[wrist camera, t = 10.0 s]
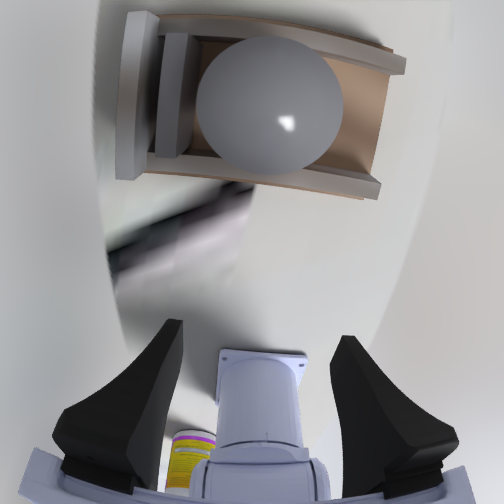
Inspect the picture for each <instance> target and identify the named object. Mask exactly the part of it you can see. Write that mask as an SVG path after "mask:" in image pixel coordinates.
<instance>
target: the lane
mask: <svg viewBox="0 0 504 504" xmlns="http://www.w3.org/2000/svg"><path fill="white" fill-rule="evenodd" d="M166 33H189V34H190V35H192V36H193V37H194V38H195V39H196V40H197V41H199V42H200V43H201V44H202V45H203V49H202V57H201V64H200V72H199V80H198V88H199V84H200V82H201V79H202V77H203V75H204V73H205V71H206V70H207V68H208V66H209V65H210V64H211V63H212V61H213V60H214V59H215V58H216V57H217V56H218V55H219V54H220V53H222V52H223V51H224V50H226V49H227V48H228V47H230V46H232V45H234V44H236V43H238V42H241V41H243V40H246V39H250V38H254V37H261V36H278V37H284V38H288V39H292V40H295V41H298V42H300V43H302V44H304V45H306V46H308V47H309V48H311V49H313V50H314V51H315V52H317V53H318V54H319V55H320V56H321V57H322V58H323V59H324V60H325V61H326V62H327V63H328V64H329V66H330V67H331V68H332V70H333V72H334V73H335V75H336V77H337V79H338V82H339V84H340V87H341V91H342V95H343V117H342V122H341V125H340V129H339V131H338V133H337V136H336V138H335V139H334V141H333V143H332V144H331V146H330V147H329V148H328V149H327V150H326V152H325V153H324V154H323V155H322V156H320V157H319V158H318V159H317V160H316V161H314V162H313V163H311V164H310V165H308V166H306V167H304V168H302V169H299V170H297V171H294V172H290V173H286V174H280V175H262V174H255V173H251V172H247V171H245V170H242V169H239V168H237V167H235V166H233V165H232V164H230V163H228V162H227V161H226V160H224V159H223V158H222V157H221V156H219V155H218V154H217V153H216V152H215V151H214V150H213V148H212V147H211V146H210V145H209V143H208V142H207V140H206V139H205V137H204V135H203V133H202V131H201V128H200V125H199V122H198V117H197V109H196V107H195V117H194V128H193V139H192V145H191V146H189V147H188V148H187V149H186V150H185V151H184V152H183V153H181V154H180V155H179V156H178V157H177V158H176V159H171V158H156V157H155V141H156V124H157V110H158V98H159V87H160V77H161V68H162V60H163V52H164V44H165V37H166ZM406 59H407V58H404V57H402V56H399V55H396V54H393V49H390V48H387V47H384V46H381V45H378V44H375V43H372V42H369V41H366V40H362V39H359V38H355V37H352V36H348V35H344V34H340V33H336V32H332V31H328V30H324V29H319V28H315V27H310V26H305V25H300V24H294V23H288V22H282V21H275V20H268V19H260V18H251V17H241V16H227V15H206V14H170V15H154V14H152V13H151V12H149V11H148V10H145V11H133V12H128V14H127V19H126V26H125V32H124V39H123V47H122V55H121V63H120V73H119V84H118V98H117V115H116V150H115V170H116V179H118V180H135V179H136V178H137V177H139V176H140V175H141V174H142V173H156V174H169V175H181V176H192V177H203V178H212V179H222V180H231V181H240V182H248V183H256V184H264V185H271V186H278V187H286V188H293V189H299V190H306V191H312V192H319V193H325V194H331V195H337V196H343V197H348V198H354V199H359V200H363V199H364V198H368V199H374V200H377V199H378V195H379V191H380V187H381V183H380V182H378V181H377V180H376V179H375V178H374V177H372V176H371V175H370V171H371V167H372V163H373V159H374V154H375V150H376V145H377V141H378V136H379V131H380V126H381V121H382V116H383V111H384V106H385V100H386V95H387V89H388V83H389V77H390V75H404V73H405V66H406ZM197 92H198V89H197ZM196 100H197V98H196Z"/></svg>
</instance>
